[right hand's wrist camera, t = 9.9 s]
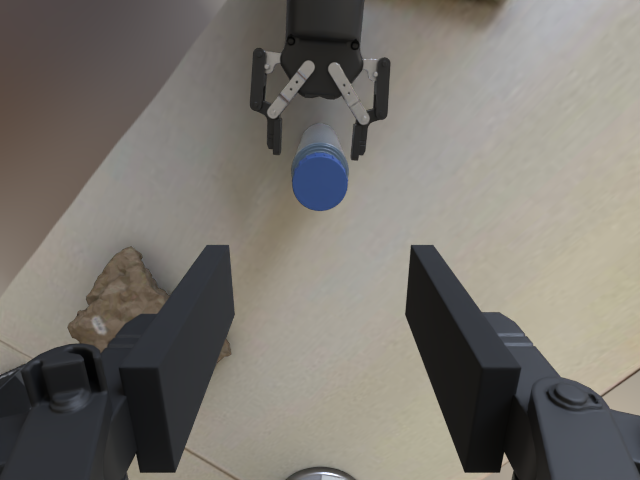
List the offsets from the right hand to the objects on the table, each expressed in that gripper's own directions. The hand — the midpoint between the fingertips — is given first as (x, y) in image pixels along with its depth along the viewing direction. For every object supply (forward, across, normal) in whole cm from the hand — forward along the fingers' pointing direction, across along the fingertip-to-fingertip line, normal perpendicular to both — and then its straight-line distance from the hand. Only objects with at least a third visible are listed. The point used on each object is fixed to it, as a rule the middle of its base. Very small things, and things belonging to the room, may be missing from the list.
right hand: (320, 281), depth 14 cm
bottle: (+39, 0, 0) cm, 39 cm away
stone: (+39, -24, -25) cm, 52 cm away
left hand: (+33, 0, -1) cm, 33 cm away
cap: (+16, 0, 0) cm, 16 cm away
